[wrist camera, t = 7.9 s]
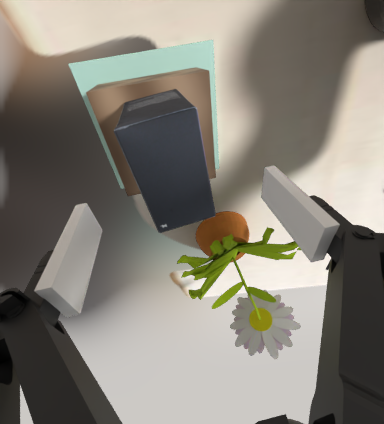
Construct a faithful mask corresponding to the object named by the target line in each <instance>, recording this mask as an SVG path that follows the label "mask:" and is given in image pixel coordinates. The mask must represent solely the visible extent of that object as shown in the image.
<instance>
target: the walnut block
mask: <svg viewBox="0 0 384 424" xmlns="http://www.w3.org/2000/svg"><path fill="white" fill-rule="evenodd" d="M173 89H177V90H178V91H179V92H180V93H181V94H182V95H183V96H184V97H185V98H186V99H187V100H188V101H189V102H190V103H192V104H193V105H194V106H195V107H196V108H197V111H198V116H199V122H200V128H201V134H202V140H203V146H204V151H205V157H206V163H207V169H208V174H209V179H212V178H216V172H215V156H214V139H213V123H212V106H211V90H210V74H209V70H205V69H201V68H197V67H195V68H189V69H183V70H178V71H172V72H166V73H161V74H155V75H149V76H143V77H138V78H132V79H126V80H121V81H115V82H109V83H103V84H98V85H96V86H95V87H93V88H92V89H90V90H89V91H87V92H86V94H87V97H88V99H89V102H90V104H91V107H92V109H93V111H94V114H95V116H96V119H97V121H98V124H99V126H100V129H101V131H102V134H103V136H104V139H105V141H106V143H107V146H108V148H109V151H110V153H111V156H112V158H113V161H114V163H115V166H116V168H117V171H118V173H119V175H120V178H121V180H122V183H123V185H124V188H125V190H126V193H127V195H128V196H131V195H136V194H141V192H140V190H139V188H138V185H137V183H136V181H135V178H134V176H133V174H132V172H131V170H130V167H129V165H128V163H127V161H126V159H125V156H124V154H123V152H122V149H121V147H120V145H119V143H118V140H117V138H116V136H115V134H114V129H115V127H116V126H117V124H118V121H119V118H120V116H121V112H122V109H123V105H124V103H125V102H128V101H132V100H135V99H139V98H143V97H146V96H150V95H154V94H158V93H161V92H165V91H169V90H173Z"/></svg>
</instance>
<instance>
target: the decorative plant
mask: <svg viewBox="0 0 384 424" xmlns="http://www.w3.org/2000/svg"><path fill="white" fill-rule="evenodd" d="M273 231H274V229H272V228H268V227H267V229H266V231H265V233H264V235H263V240H262V241H259V242H255V243H248V240H249V229H248V226H247V223H246V220H245V219H244V217H243V216H242V215H240V214H238V213H235V212H229V211H226V212H220V213H216V215H215V217H211V218H208V219H205V220H204V221H203V222H202V223H201V224H200V225H199V227H198V229H197V232H196V241H197V243H198V244H199V246H200V248H201V250H202V251H203V252H204V253H205V254H206V255H208V256H209V258H199V257H188V256H186V255H183V256H182V257H181V258H180V259H179V260H178V262H177V264H178V263H188V264H189V265H191V266H192V267H193V268H194V269H193V270H191V271H185V272H184V273H183V275H182V277H186V276H189V275H193V276H195V279H194V280H198V279H201V278H207V279H206V280H205V282H204V284H203V285H202V287H201V289H198V290H189V294H190V296H191V298H192V299H195V298H196V297H198V298H199V299H200V300H201V299H202V297H203V296H204V295H205V293H206V292H207V291H208V290H209V288H210V287H211V286H212V285H213V283H214V282H215V281H216V279H217V278H218V277H219V276H220V274H221V273H222V272H223V270H224V269H225V268H226V267H227V265H228V264H229V263H230V262H233V261H234V263H235V266H236V268H237V270H238V273H239V275H240V277H241V280H242V282H240V283H238V284H236V285H234V286H233V287H231V288H230V289H229V290H227V291H226V292H225V293H224V294H223V295H221V296H220V297H219V298H218V299H217V301H216V302H215V303H214V304H213V306H212V309H215V308H217V307H219V306H221V305H222V304H224V303H225V302H227V301H228V300H229V299H230V298H231V297H233V296H234V295H235V294H236V293H237V292H238V291H239V290H240V289H241V287H242V286H243V284H244V287H245V289H246V291H247V293H248V298H241V297H239V298H238V299H237V300H238V303H239V304H240V305H236V308H237V309H236V310H234V311H232V313H233V315H235V316H236V317H235V318H234V321H235V322H233V323H232V324H231V325H230V328H231V329H234V330H235V329H236V332H235V333H236V334H238V335H239V336H238V337H237V340H236V342H235V346H236V347H239V346H241V345H243V344H244V348H245V349H248V352H249V355H251V356H252V355H254V354H255V353H256V351H258V352H259V353H262V351H263V349H264V345H265V346H266V348H267V350H268V352H269V353H270V355H271V356H272V357H273V358H274V359H277V358H278V349H279V350H282V349H283V346H282V344H284V345H285V346H288V347H292V342H291V340H290V338H289V337H288V336H291V332H290V331H289V330H296V329H299V328H300V327H301V326H300V324H299V323H297V322H295V321H293V319H294V316H293V315H291V313H292V311H293V308H292V307H284V306H285V304H284V303H280V300H281V296H280V295H276V296H274V297H273V296H271V295H270V294H268V292H267V291H266V290H263V291H262V290H260V289H257V288H254V287H247V285H246V283H245V281H244V279H243V276H242V274H241V272H240V270H239V267H238V265H237V263H236V260H238V259H239V258H241V257H242V256H243V255H244V254H245V253H247V254H252V255H256V256H261V257H266V258H271V259H275V260H279V259H292V258H293V257H294V255H295V253H296V252H297V251H296V252H294V253H291V254H289V255H285V254H281V253H282V252H286V251H290V250H294V249H295V248H297V247H298V245H297V243H296V242H295V241H294V242H291V243H288V244H267V242H268V240H269V238H270V235H271V233H272V232H273ZM297 250H301V249H300V248H298V249H297ZM210 260H213V261H212V262H211V263H209V264H207V265H204V266H201V267H198V266H200V265H202V264H205V263H207V262H208V261H210ZM197 267H198V268H197ZM182 277H181V278H182Z"/></svg>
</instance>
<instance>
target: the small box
mask: <svg viewBox="0 0 384 424" xmlns="http://www.w3.org/2000/svg"><path fill="white" fill-rule="evenodd" d="M114 134H115V136H116V138H117V140H118V143H119V145H120V147H121V149H122V152H123V154H124V156H125V159H126V161H127V163H128V165H129V167H130V170H131V172H132V174H133V176H134V178H135V181H136V183H137V185H138V188H139V190H140V192H141V194H142V196H143V199H144V201H145V203H146V205H147V208H148V210H149V212H150V214H151V217H152V219H153V221H154V223H155V225H156V228H157V230H158V232H159V233H162V232H165V231H169V230H172V229H175V228H178V227H182V226H185V225H188V224H192V223H195V222H198V221H202V220H205V219H208V218H211V217H215V215H216V214H215V208H214V202H213V197H212V191H211V186H210V180H209V174H208V169H207V163H206V157H205V151H204V146H203V140H202V134H201V128H200V122H199V116H198V111H197V108H196V107H195V106H194V105H193V104H192V103H190V102H189V101H188V100H187V99H186V98H185V97H184V96H183V95H182V94H181V93H180V92H179V91H178V90H177V89H173V90H169V91H165V92H161V93H158V94H154V95H150V96H146V97H143V98H139V99H135V100H132V101H128V102H125V103H124V105H123V109H122V112H121V116H120V118H119V121H118V124H117V126H116V127H115V129H114Z"/></svg>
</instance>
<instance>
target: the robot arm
mask: <svg viewBox="0 0 384 424" xmlns="http://www.w3.org/2000/svg"><path fill="white" fill-rule="evenodd" d="M365 5H366V11H367V14H368V17H369V19H370V21H371V23H372V24H373V26H374V27H375V28H377V29H378V30H380V31H382V32H384V0H365ZM261 198H262V199H263V201H264V202H265V203H266V204H267V206H268V207H269V208H270V210H271V211H272V212H273V214H274V215H275V216H276V217H277V219H278V220H279V221H280V223H281V224H282V225H283V227H284V228H285V229H286V230H287V232H288V233H289V234H290V236H291V237H292V238H293V240H294V241H295V242H296V243H297V245H298V246H299V247H300V249H301V250H302V251H303V253H304V254H305V255H306V256H307V258H308V259H309V260H310V262H314V261H319V260H323V259H324V258H325V256H326V253H328V254H329V255H330V256H331V260H330V262H329V264H328V266H327V268H326V270H328V269H329V273H328V282H327V291H326V301H325V310H324V319H323V328H322V337H321V347H320V356H319V365H318V374H317V383H316V391H315V394H314V397H313V400H312V404H311V409H310V416H309V424H384V233H375V232H374V231H372V230H371V229H369V228H367V227H364V226H359V225H352V224H351V223H350V222H349V221H348V220H346V219H345V218H344V217H343V216H342V215H341V214H339V213H338V212H337V211H336V210H334V209H333V208H332V207H331V206H329V204H328V203H326V202H325V201H324V200H323V199H321V198H319V197H317V196H314V195H313V196H308V195H307V194H306V193H304V192H303V191H302V190H301V189H300V188H299V187H298V186H297V185H296V184H295V183H293V182H292V181H291V180H290V179H289V178H288V177H287V176H286V175H285V174H283V173H282V172H281V171H280V170H279V169H278V168H277V167H276V166H275V165H274V166H269V167H264V176H263V185H262V194H261ZM102 231H103V230H102V228H101V227H100V225H99V223H98V221H97V220H96V218H95V216H94V215H93V213H92V211H91V209H90V208H89V206H88V204H87V203H83V204H78V205H76V206H75V208H74V210H73V212H72V214H71V216H70V218H69V220H68V222H67V224H66V226H65V228H64V230H63V233H62V235H61V237H60V239H59V241H58V243H57V245H56V247H55V249H54V250H52V251H48V252H47V254H46V255H45V256H44V257H43V258H42V259H41V261H40V263H39V265H38V268H37V269H36V271H35V272H34V275H33V276H32V278H31V280H30V282H29V284H28V286H27V287H26V289H25V291H24V293H22V292H21V291H20V290H18V289H17V288H11V289H8V290H5V291H3V292H1V293H0V424H20V385H21V388H22V391H23V394H24V396H25V400H26V403H27V405H28V408H29V411H30V414H31V417H32V420H33V423H34V424H122V422H121V421H120V419H119V417H118V416H117V414H116V412H115V411H114V409H113V407H112V406H111V404H110V402H109V401H108V399H107V398H106V396H105V394H104V392H103V391H102V389H101V388H100V386H99V384H98V383H97V381H96V379H95V378H94V376H93V374H92V373H91V371H90V369H89V368H88V366H87V364H86V363H85V361H84V360H83V358H82V356H81V355H80V353H79V351H78V350H77V348H76V346H75V345H74V343H73V341H72V340H71V338H70V336H69V335H68V333H67V331H66V330H65V328H64V326H63V325H62V323H61V322H60V321H59V320H58V317H59V315H60V313H62V314H63V315H64V316H65V317H69V316H73V315H79V314H81V310H82V306H83V302H84V298H85V295H86V291H87V287H88V284H89V280H90V276H91V272H92V268H93V265H94V261H95V257H96V253H97V249H98V246H99V242H100V238H101V234H102ZM256 424H303V423H301V422H299V421H295V420H292V419H287V417H286V415H281V416H277V417H273V418H270V419H266V420H262V421H258V422H257V423H256Z"/></svg>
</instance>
